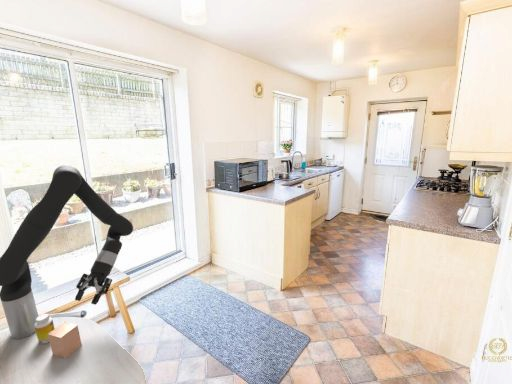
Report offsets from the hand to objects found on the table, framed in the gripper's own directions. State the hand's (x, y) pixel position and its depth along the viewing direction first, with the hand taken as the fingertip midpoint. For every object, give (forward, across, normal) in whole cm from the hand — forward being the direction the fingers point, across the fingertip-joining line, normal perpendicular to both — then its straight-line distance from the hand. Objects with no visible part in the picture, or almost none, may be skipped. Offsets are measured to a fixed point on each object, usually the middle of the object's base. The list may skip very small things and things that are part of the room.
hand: (85, 302), depth 103 cm
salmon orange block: (+16, 0, +2) cm, 17 cm away
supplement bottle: (+15, -13, +4) cm, 21 cm away
